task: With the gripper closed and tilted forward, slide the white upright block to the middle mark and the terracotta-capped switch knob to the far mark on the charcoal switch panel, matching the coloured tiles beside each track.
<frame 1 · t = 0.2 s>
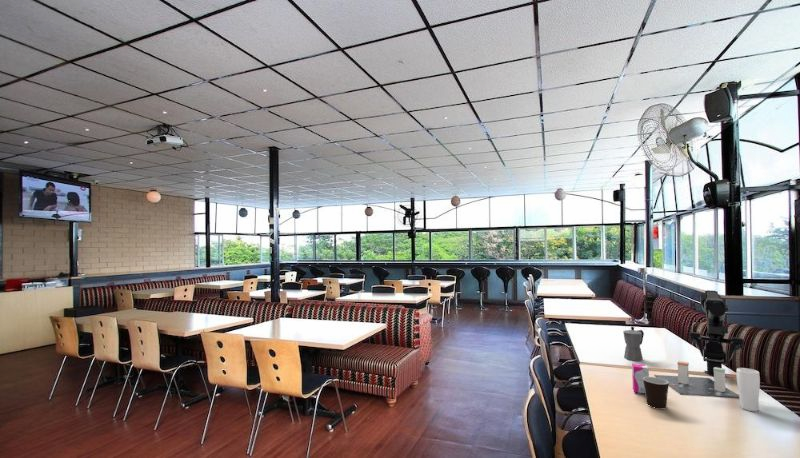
hand: (715, 358, 170), 15 cm above the table, tool tilted 30°, fingers open, 9 cm apart
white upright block: (719, 379, 169), point 5 cm above the table, slide at 0.0 cm
supplement box: (640, 392, 169), on the table
switch panel: (695, 386, 176), on the table
terracotta slider: (683, 372, 179), point 5 cm above the table, slide at 0.0 cm
coffeepot: (634, 359, 219), on the table
white rounded cylinder: (749, 409, 151), on the table
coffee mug: (658, 405, 155), on the table
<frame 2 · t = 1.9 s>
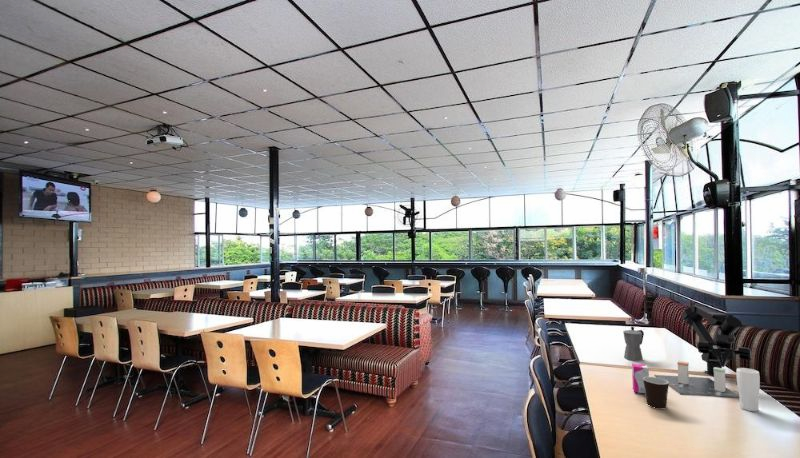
hand: (722, 366, 174), 10 cm above the table, tool tilted 45°, fingers closed
nothing on the table moved.
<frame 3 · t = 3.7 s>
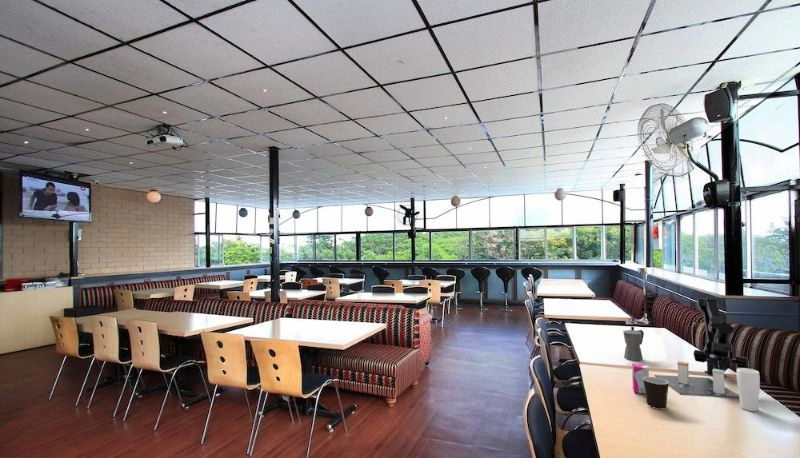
hand: (719, 376, 168), 7 cm above the table, tool tilted 45°, fingers closed, pressing on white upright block
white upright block: (718, 381, 167), point 5 cm above the table, slide at 3.3 cm, touching gripper
everything else where it was.
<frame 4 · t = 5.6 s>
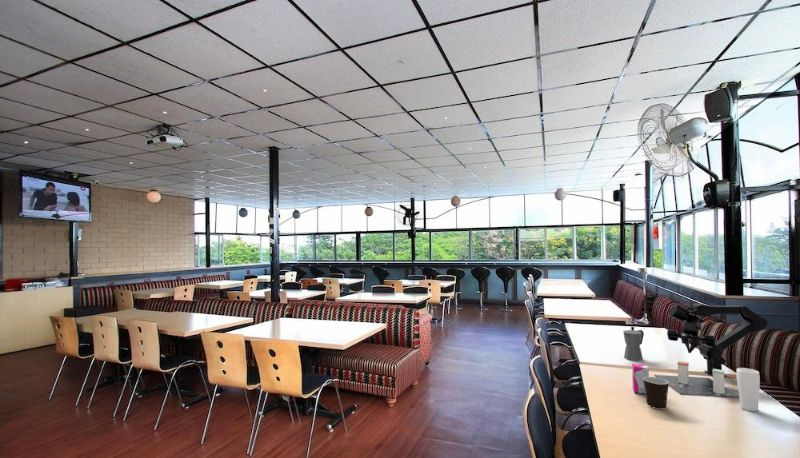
hand: (689, 352, 185), 13 cm above the table, tool tilted 45°, fingers closed
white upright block: (718, 381, 167), point 5 cm above the table, slide at 3.3 cm
everything else where it was.
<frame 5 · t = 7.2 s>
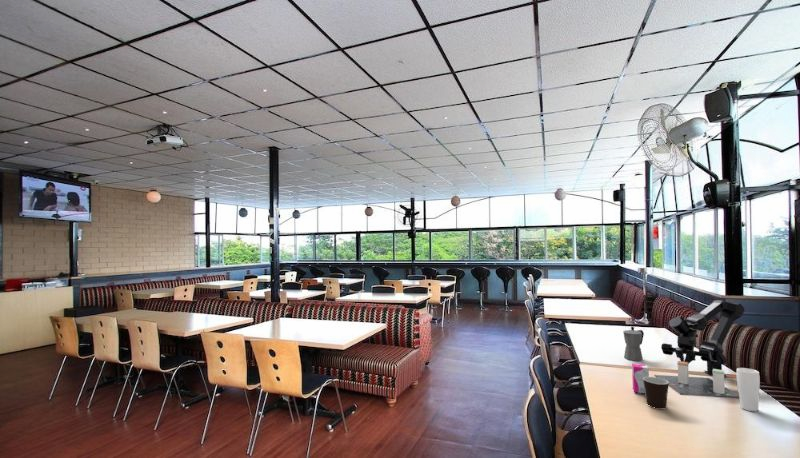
hand: (683, 367, 180), 7 cm above the table, tool tilted 45°, fingers closed, pressing on terracotta slider
terracotta slider: (683, 372, 179), point 5 cm above the table, slide at 0.1 cm, touching gripper
everything else where it was.
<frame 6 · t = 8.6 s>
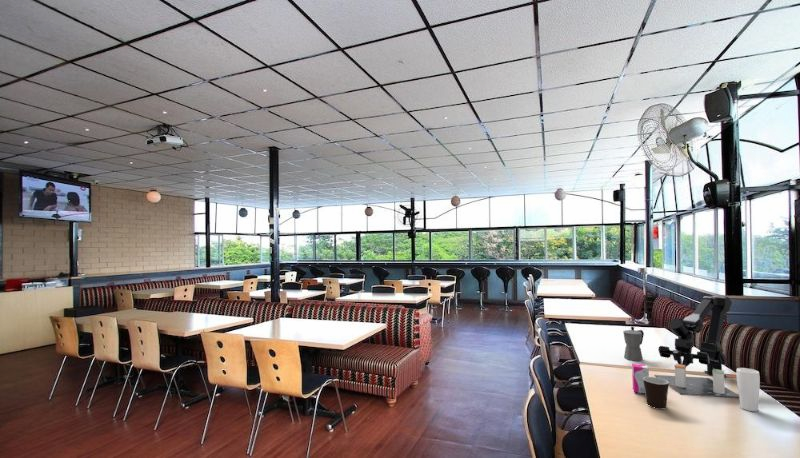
hand: (681, 370, 176), 7 cm above the table, tool tilted 45°, fingers closed, pressing on terracotta slider
terracotta slider: (680, 375, 174), point 5 cm above the table, slide at 6.3 cm, touching gripper
everything else where it was.
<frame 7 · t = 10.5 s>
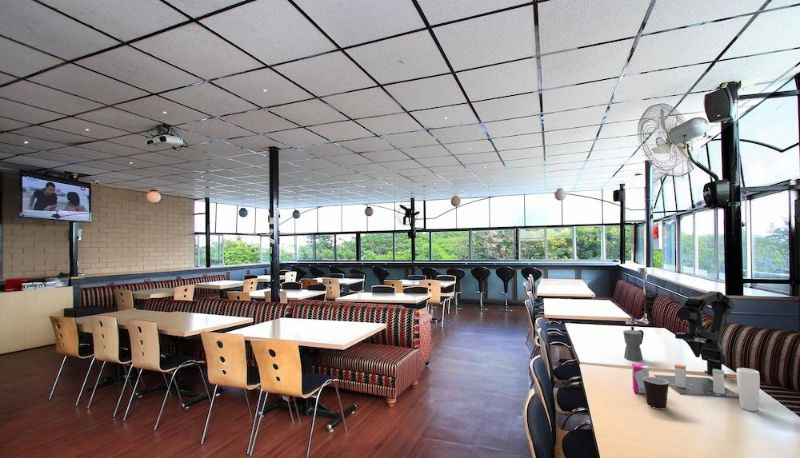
hand: (697, 357, 181), 12 cm above the table, tool tilted 15°, fingers closed
terracotta slider: (680, 375, 174), point 5 cm above the table, slide at 6.3 cm
everything else where it was.
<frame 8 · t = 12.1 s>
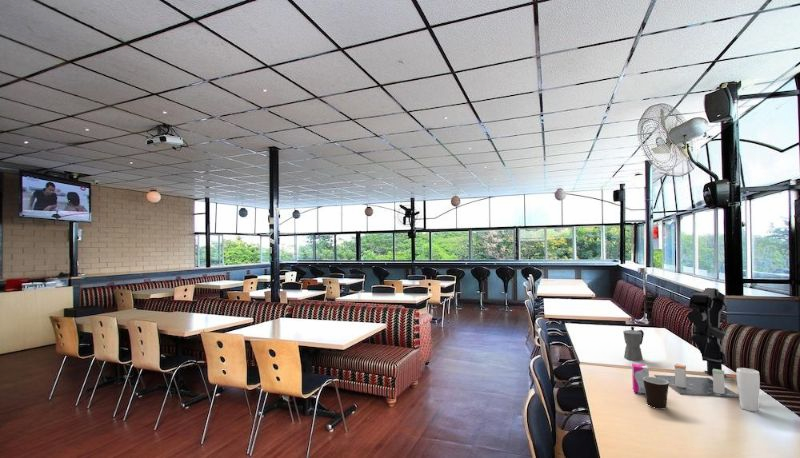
hand: (703, 354, 181), 13 cm above the table, tool pointing down, fingers closed
nothing on the table moved.
at the end: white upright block slide at 3.3 cm; terracotta slider slide at 6.3 cm; terracotta slider touching nothing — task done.
